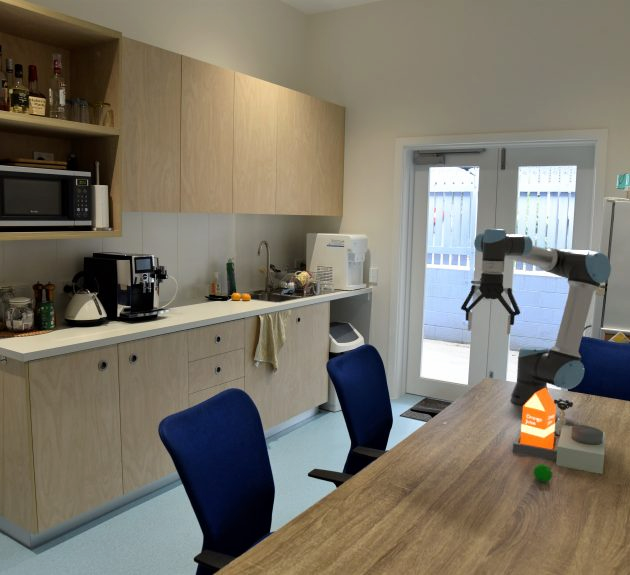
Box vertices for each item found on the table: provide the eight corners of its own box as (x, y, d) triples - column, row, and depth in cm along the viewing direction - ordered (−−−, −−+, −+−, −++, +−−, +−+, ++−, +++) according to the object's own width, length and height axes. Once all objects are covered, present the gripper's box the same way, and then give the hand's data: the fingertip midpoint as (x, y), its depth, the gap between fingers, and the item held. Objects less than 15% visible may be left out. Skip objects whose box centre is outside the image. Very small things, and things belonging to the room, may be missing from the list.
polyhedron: (538, 475, 176) (539, 460, 176) (554, 481, 173) (555, 465, 172) (529, 480, 173) (531, 464, 172) (546, 486, 169) (547, 470, 169)
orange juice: (553, 448, 198) (558, 389, 195) (542, 455, 191) (547, 395, 189) (530, 441, 203) (534, 384, 200) (519, 448, 196) (523, 389, 194)
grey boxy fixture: (520, 434, 210) (521, 409, 209) (603, 449, 198) (605, 423, 197) (510, 456, 190) (512, 429, 189) (602, 474, 179) (605, 445, 177)
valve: (567, 432, 213) (569, 399, 212) (573, 439, 207) (576, 405, 205) (548, 431, 214) (550, 398, 212) (553, 437, 207) (556, 404, 206)
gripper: (454, 271, 213) (451, 329, 216) (528, 276, 202) (524, 337, 205) (459, 269, 220) (456, 326, 223) (530, 274, 209) (526, 333, 212)
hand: (488, 331), depth 214 cm, fingers open, 13 cm apart
